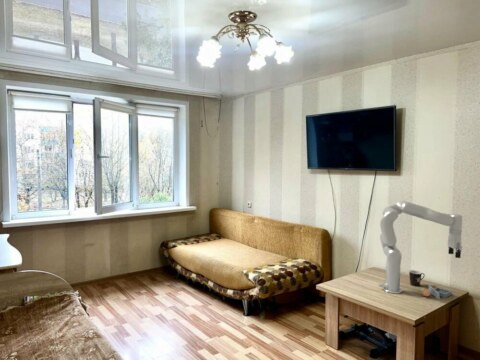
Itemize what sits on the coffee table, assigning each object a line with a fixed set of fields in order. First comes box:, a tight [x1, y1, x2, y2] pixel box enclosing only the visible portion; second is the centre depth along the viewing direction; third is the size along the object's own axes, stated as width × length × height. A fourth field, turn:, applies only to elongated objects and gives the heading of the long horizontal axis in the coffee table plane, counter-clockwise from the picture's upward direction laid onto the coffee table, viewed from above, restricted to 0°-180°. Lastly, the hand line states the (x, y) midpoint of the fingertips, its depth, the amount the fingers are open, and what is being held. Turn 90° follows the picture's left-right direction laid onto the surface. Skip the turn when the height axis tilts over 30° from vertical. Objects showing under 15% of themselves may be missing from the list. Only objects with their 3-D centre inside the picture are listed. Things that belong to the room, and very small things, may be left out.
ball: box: [421, 288, 431, 298], centre depth 240 cm, size 5×5×5 cm
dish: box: [430, 286, 453, 298], centre depth 244 cm, size 10×10×2 cm
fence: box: [428, 285, 441, 300], centre depth 243 cm, size 2×15×4 cm, turn 172°
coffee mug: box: [408, 269, 425, 288], centre depth 261 cm, size 12×9×10 cm
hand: (454, 255), depth 242 cm, fingers open, 9 cm apart
